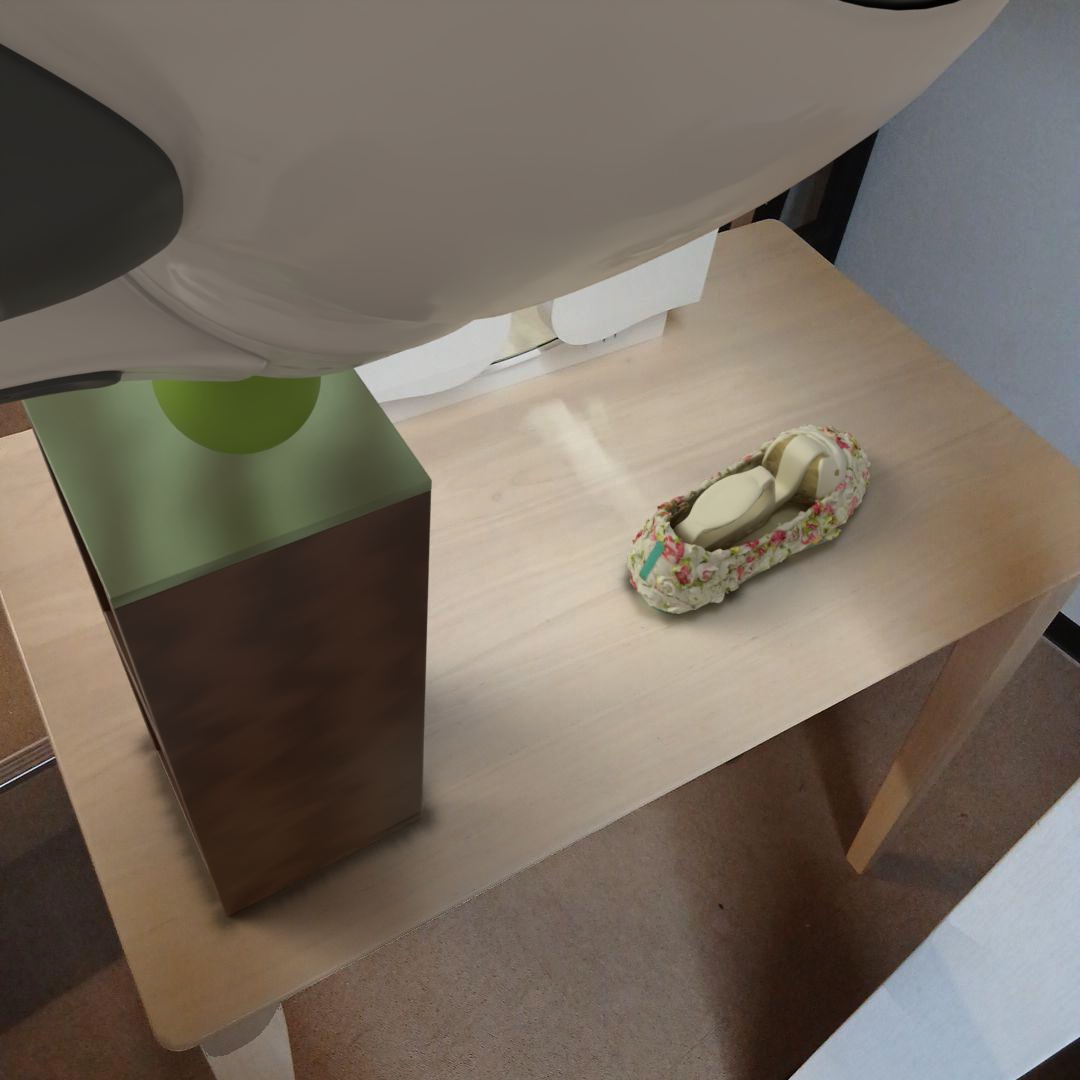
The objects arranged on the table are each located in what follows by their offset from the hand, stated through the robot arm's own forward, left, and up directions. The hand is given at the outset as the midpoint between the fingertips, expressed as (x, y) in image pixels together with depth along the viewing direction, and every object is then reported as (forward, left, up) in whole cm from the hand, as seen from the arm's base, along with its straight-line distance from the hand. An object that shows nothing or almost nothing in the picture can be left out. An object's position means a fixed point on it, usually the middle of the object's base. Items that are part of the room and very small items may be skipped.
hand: (200, 266), depth 33 cm
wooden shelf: (+1, +2, -39) cm, 39 cm away
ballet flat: (+36, -12, -39) cm, 55 cm away
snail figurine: (0, -1, -7) cm, 7 cm away
